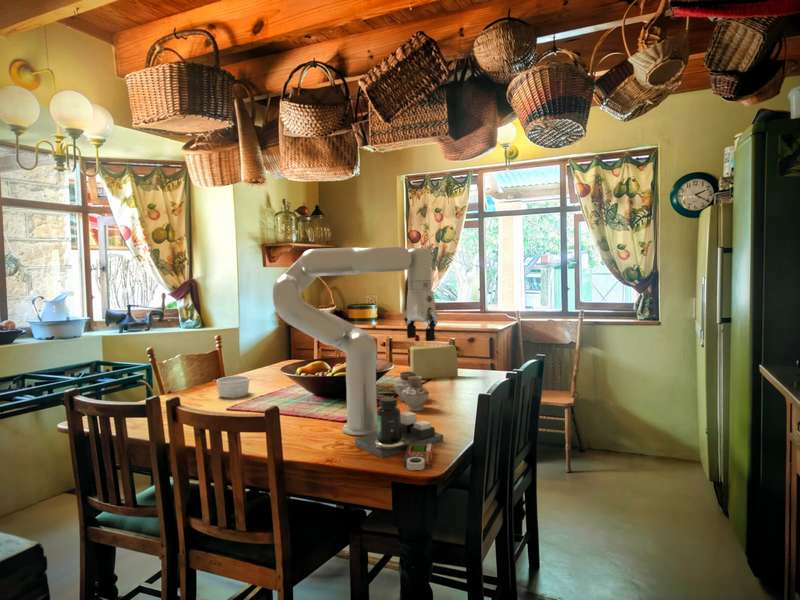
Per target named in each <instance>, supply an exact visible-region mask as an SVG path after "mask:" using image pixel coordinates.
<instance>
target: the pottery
mask: <svg viewBox="0 0 800 600" xmlns="http://www.w3.org/2000/svg"><path fill="white" fill-rule="evenodd" d="M399 377H400V379H398V380H397V381H395V382H394V383H393V388H394V391H395V393H396V394H397V395H398V396H399V397H400V400H401V401H402V402H404V403H405V404H406V405H407V406H408V408H407V410H408V411H409V412H421V411H423V410H424V405H425V404H426V403H427V401H428V398H429V390H428V389H426V388H424V387H423V383H422V380H423V379H422V377H421V376H416V374H415V372H411V371H402V372H400V373H399Z"/></svg>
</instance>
